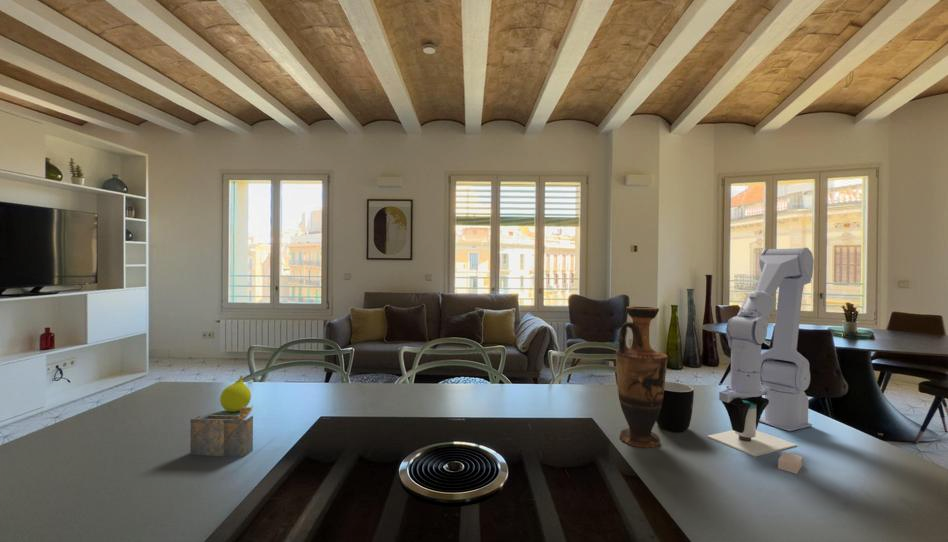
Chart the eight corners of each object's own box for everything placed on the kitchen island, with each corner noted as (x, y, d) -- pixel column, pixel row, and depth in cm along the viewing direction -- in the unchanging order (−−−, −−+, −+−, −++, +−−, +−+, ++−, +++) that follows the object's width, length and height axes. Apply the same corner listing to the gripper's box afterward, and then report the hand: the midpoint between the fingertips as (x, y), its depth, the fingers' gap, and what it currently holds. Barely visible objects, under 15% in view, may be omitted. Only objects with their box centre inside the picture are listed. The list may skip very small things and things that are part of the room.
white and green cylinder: (748, 435, 98) (749, 400, 98) (759, 443, 94) (760, 406, 94) (730, 435, 98) (731, 400, 98) (741, 442, 94) (742, 406, 94)
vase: (666, 436, 98) (668, 306, 98) (665, 454, 88) (668, 310, 88) (617, 428, 103) (618, 304, 103) (611, 444, 93) (613, 307, 93)
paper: (747, 428, 104) (747, 427, 104) (796, 445, 94) (796, 444, 94) (707, 436, 98) (707, 435, 98) (755, 456, 88) (755, 455, 88)
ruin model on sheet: (253, 451, 89) (254, 405, 89) (245, 458, 86) (246, 410, 86) (200, 450, 89) (200, 404, 89) (190, 457, 86) (190, 409, 86)
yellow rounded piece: (252, 405, 116) (252, 369, 116) (249, 414, 110) (249, 375, 110) (222, 408, 114) (223, 371, 114) (217, 417, 107) (217, 377, 107)
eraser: (783, 461, 86) (783, 452, 86) (801, 466, 84) (802, 456, 84) (777, 469, 83) (778, 459, 83) (796, 475, 81) (797, 465, 81)
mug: (698, 436, 98) (699, 392, 98) (658, 433, 100) (658, 390, 100) (681, 418, 110) (682, 379, 110) (645, 416, 112) (646, 377, 112)
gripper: (748, 363, 103) (747, 419, 103) (707, 368, 97) (706, 428, 97) (779, 370, 96) (778, 429, 96) (737, 376, 90) (736, 439, 91)
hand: (744, 429), depth 96 cm, fingers closed on white and green cylinder, 4 cm apart
